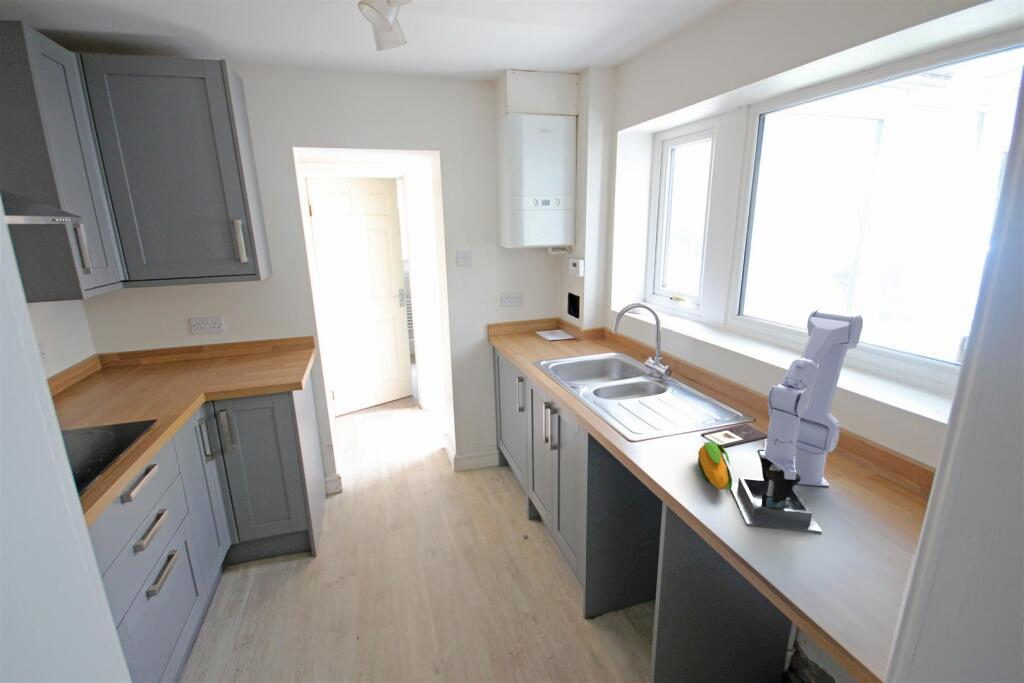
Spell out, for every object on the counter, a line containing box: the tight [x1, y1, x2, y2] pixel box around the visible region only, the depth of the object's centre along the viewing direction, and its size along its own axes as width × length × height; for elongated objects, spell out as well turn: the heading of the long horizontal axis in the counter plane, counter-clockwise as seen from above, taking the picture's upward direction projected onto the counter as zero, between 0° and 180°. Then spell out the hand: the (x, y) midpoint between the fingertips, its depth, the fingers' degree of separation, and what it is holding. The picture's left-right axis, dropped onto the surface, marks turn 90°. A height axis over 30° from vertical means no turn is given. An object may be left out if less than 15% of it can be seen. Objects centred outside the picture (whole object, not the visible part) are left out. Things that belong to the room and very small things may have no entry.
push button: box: [761, 464, 790, 508], centre depth 106 cm, size 7×5×10 cm
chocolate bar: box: [700, 423, 768, 449], centre depth 141 cm, size 9×1×18 cm
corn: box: [697, 441, 733, 491], centre depth 119 cm, size 7×8×20 cm
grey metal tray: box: [730, 476, 823, 534], centre depth 107 cm, size 16×15×4 cm
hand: (773, 489), depth 106 cm, fingers open, 7 cm apart
